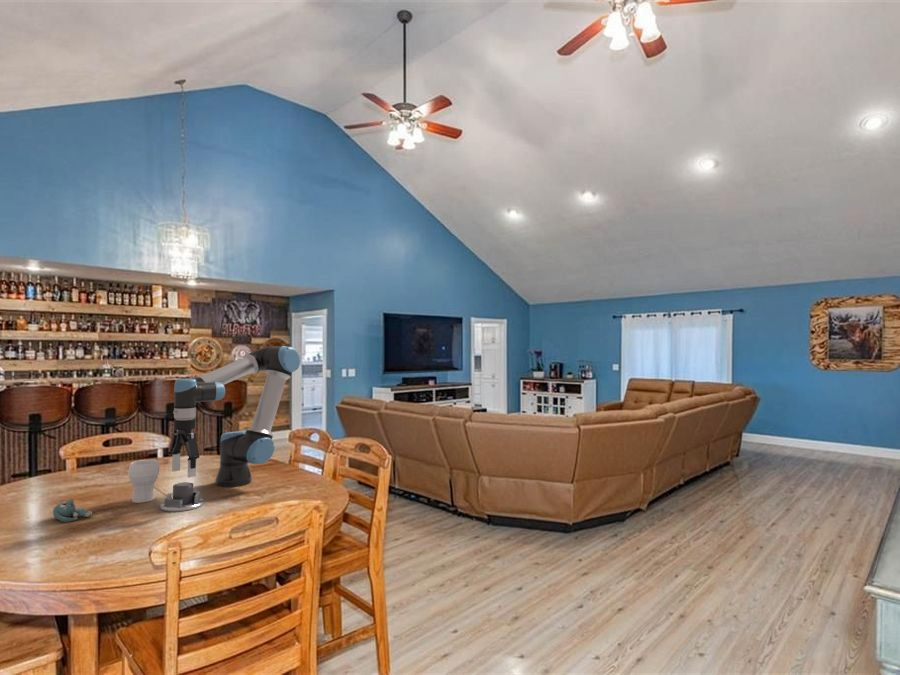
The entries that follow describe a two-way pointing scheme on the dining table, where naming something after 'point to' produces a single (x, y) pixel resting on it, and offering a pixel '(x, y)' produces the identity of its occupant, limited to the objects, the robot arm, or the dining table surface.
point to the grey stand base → (176, 504)
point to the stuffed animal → (69, 511)
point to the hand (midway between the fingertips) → (183, 473)
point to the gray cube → (183, 492)
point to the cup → (143, 479)
